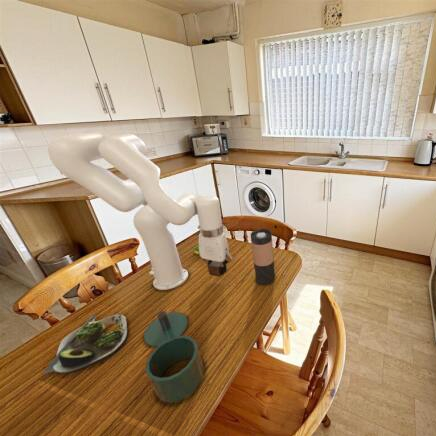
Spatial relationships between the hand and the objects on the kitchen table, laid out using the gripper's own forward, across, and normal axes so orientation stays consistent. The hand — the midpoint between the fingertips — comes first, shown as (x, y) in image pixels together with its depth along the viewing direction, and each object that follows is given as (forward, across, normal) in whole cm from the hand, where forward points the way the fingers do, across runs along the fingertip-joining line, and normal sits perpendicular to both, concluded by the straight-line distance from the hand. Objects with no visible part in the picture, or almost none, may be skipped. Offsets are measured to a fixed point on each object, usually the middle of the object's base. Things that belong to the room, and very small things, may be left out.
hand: (217, 271), depth 92 cm
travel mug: (+3, +18, +5) cm, 19 cm away
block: (0, 0, 0) cm, 0 cm away
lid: (+4, -2, -25) cm, 25 cm away
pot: (+4, +12, -36) cm, 38 cm away
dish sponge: (+4, -14, +16) cm, 22 cm away
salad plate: (+5, -19, -35) cm, 40 cm away
